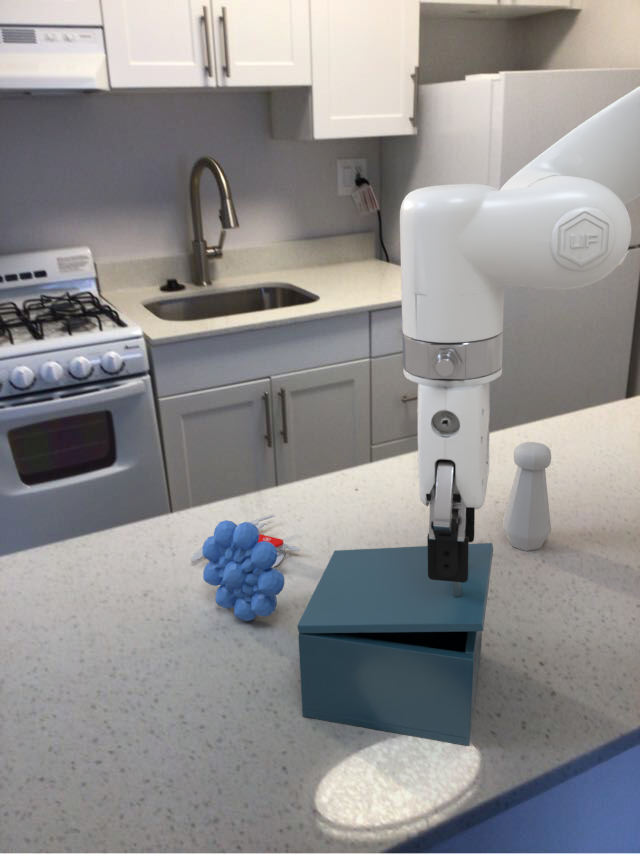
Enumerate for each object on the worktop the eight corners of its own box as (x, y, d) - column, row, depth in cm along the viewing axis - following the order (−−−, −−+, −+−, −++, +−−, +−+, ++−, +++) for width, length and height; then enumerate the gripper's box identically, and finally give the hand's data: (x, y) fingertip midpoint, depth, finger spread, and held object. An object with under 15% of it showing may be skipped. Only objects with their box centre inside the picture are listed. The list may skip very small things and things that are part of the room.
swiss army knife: (324, 535, 97) (323, 521, 97) (269, 589, 86) (268, 574, 85) (248, 517, 102) (247, 504, 102) (187, 567, 91) (186, 553, 90)
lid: (493, 550, 70) (484, 489, 68) (483, 631, 59) (472, 562, 57) (336, 557, 75) (323, 501, 73) (298, 633, 64) (282, 569, 62)
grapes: (313, 620, 80) (309, 520, 76) (268, 652, 75) (261, 547, 71) (237, 582, 87) (230, 489, 83) (192, 609, 83) (182, 511, 78)
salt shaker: (491, 541, 94) (497, 445, 89) (519, 526, 98) (526, 432, 93) (531, 559, 90) (539, 459, 85) (559, 543, 93) (568, 446, 89)
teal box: (480, 652, 74) (485, 575, 71) (469, 746, 63) (473, 660, 60) (337, 631, 78) (335, 557, 75) (302, 716, 67) (298, 634, 64)
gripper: (496, 392, 49) (491, 624, 56) (506, 326, 65) (501, 514, 71) (383, 389, 51) (390, 613, 58) (419, 326, 67) (422, 509, 73)
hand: (452, 556), depth 64 cm, fingers closed on lid, 5 cm apart
